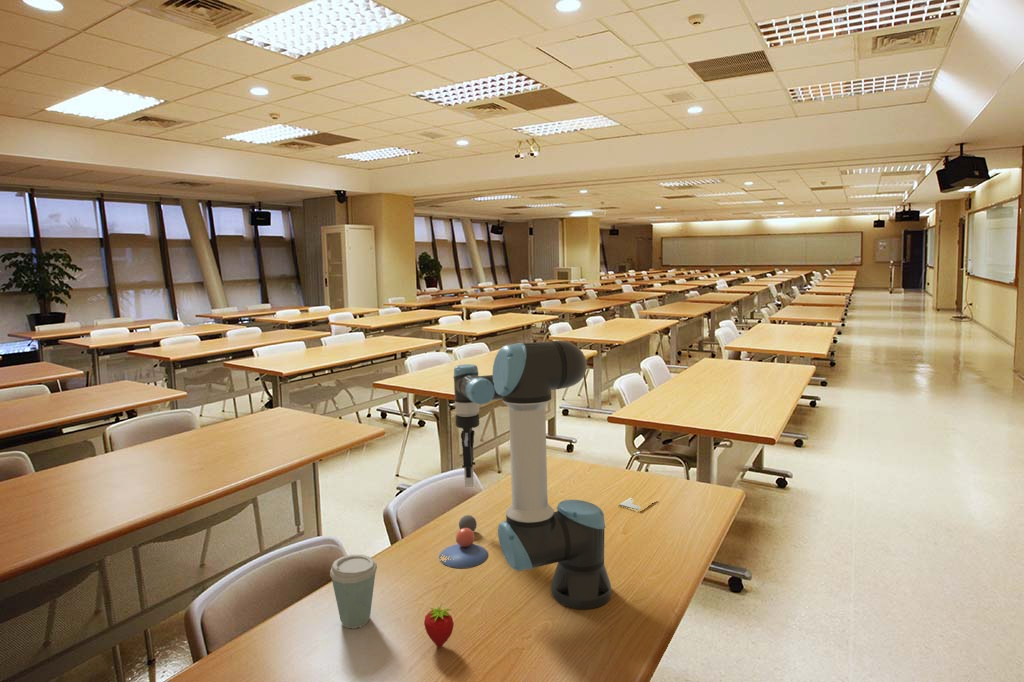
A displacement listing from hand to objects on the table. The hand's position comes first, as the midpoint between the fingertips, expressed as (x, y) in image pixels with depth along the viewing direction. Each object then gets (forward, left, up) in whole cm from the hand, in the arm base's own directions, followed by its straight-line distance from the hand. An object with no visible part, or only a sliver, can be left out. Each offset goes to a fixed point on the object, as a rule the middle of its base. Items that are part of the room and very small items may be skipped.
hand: (469, 485), depth 185 cm
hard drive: (+16, -57, -14) cm, 61 cm away
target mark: (-20, 0, -13) cm, 24 cm away
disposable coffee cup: (-51, +22, -13) cm, 57 cm away
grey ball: (-5, 0, -11) cm, 12 cm away
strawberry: (-60, +1, -13) cm, 61 cm away
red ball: (-14, 0, -11) cm, 17 cm away
